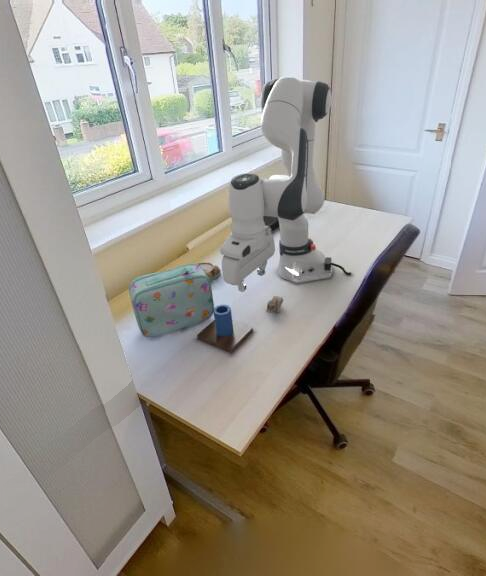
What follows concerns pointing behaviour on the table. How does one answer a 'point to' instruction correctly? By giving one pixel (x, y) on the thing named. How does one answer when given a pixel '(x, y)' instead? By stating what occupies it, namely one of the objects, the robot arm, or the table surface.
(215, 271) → the alarm clock
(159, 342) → the table surface
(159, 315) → the lunch box
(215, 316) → the blue faceted hollow tube
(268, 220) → the portable cd player
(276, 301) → the toy character
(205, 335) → the platform
